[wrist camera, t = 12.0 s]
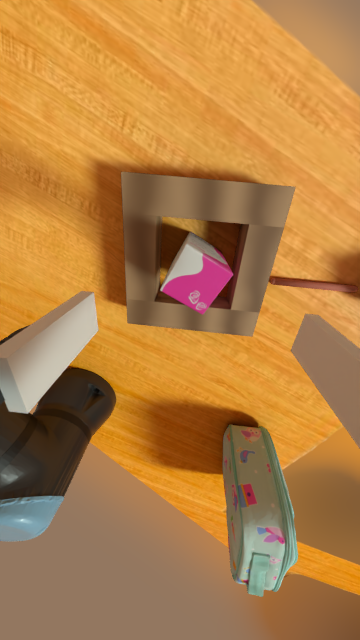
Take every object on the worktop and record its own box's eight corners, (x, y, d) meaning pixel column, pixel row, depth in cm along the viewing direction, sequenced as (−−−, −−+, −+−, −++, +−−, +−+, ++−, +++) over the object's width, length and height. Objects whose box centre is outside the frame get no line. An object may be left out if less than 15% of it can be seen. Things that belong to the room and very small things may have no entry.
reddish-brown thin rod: (268, 283, 32) (270, 284, 31) (270, 276, 31) (272, 278, 30) (353, 291, 31) (357, 293, 31) (356, 285, 31) (361, 287, 30)
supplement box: (169, 266, 32) (157, 290, 22) (190, 230, 29) (186, 239, 19) (201, 285, 33) (203, 316, 23) (223, 252, 30) (236, 271, 20)
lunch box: (258, 479, 57) (289, 611, 38) (221, 478, 58) (233, 605, 39) (268, 415, 45) (320, 559, 26) (221, 415, 46) (238, 553, 27)
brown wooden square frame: (136, 309, 36) (127, 323, 31) (133, 178, 27) (121, 171, 22) (245, 321, 35) (252, 336, 31) (279, 191, 26) (295, 186, 22)
